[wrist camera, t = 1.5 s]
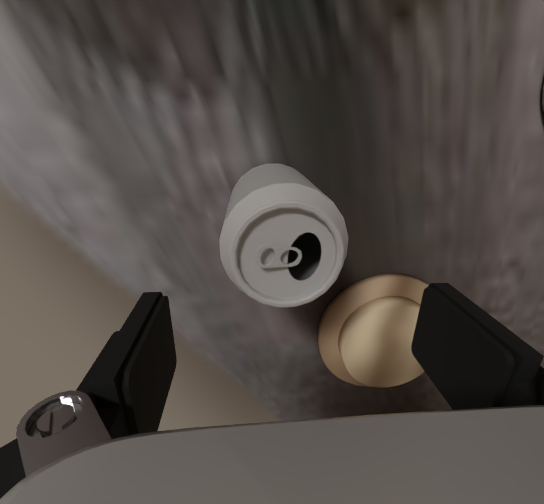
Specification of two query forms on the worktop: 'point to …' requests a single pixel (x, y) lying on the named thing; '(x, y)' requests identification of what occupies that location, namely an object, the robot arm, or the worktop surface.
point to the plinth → (373, 331)
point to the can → (282, 237)
